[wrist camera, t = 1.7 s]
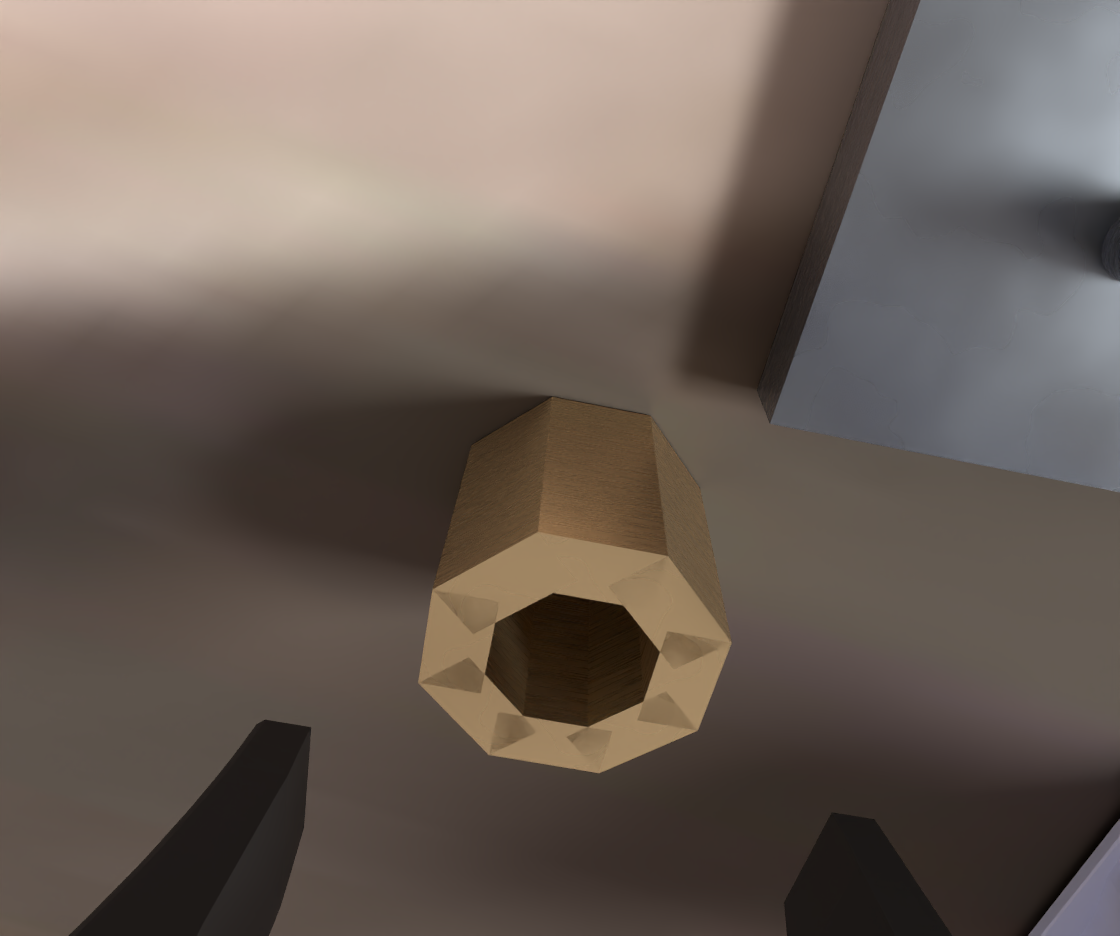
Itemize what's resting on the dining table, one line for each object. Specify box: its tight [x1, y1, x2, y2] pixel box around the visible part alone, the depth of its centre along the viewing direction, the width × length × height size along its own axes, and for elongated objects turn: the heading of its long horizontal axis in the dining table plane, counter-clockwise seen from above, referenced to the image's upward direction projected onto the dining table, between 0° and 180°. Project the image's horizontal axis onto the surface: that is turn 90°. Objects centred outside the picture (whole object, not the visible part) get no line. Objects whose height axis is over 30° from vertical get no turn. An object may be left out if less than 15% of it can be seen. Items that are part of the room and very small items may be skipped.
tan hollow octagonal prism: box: [418, 397, 732, 773], centre depth 17 cm, size 5×5×5 cm
